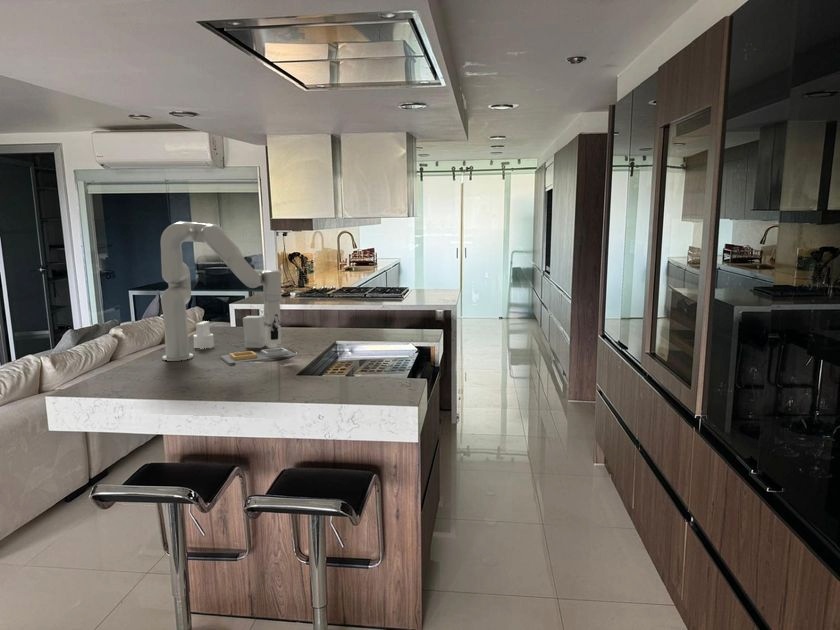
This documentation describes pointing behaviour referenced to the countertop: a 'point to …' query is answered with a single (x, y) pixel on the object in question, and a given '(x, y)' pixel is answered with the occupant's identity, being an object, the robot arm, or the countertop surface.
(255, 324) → the skincare box
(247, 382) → the countertop surface
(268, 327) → the plug
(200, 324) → the base with upright slab
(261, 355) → the socket panel
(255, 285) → the robot arm
